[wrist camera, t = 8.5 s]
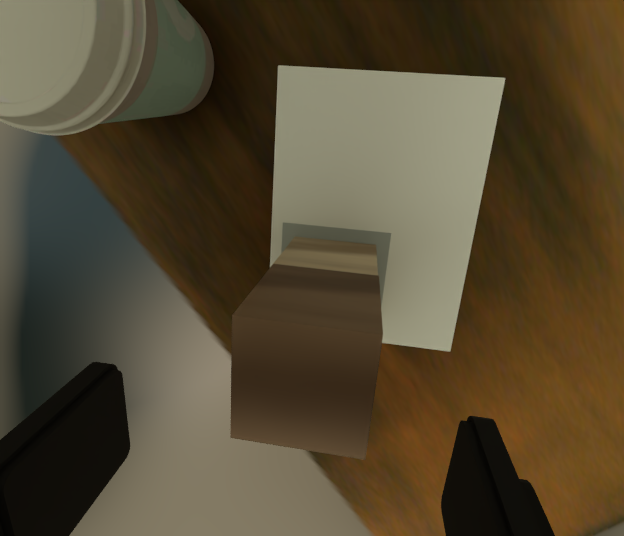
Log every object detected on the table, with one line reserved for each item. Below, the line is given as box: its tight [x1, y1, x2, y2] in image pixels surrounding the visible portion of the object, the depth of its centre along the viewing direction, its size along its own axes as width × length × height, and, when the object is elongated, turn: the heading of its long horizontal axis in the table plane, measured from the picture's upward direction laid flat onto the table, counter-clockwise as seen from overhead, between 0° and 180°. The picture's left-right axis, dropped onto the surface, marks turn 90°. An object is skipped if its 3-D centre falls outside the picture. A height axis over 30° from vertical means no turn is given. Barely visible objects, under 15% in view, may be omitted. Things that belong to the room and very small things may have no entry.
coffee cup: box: [0, 0, 214, 135], centre depth 18 cm, size 8×9×12 cm
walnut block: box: [231, 264, 383, 460], centre depth 17 cm, size 5×5×6 cm
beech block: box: [273, 237, 378, 275], centre depth 22 cm, size 5×5×6 cm
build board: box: [270, 65, 505, 351], centre depth 24 cm, size 16×12×1 cm
